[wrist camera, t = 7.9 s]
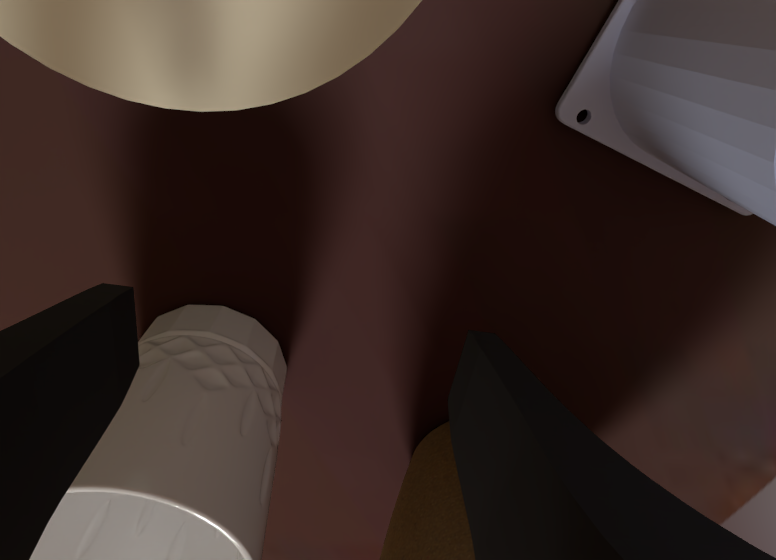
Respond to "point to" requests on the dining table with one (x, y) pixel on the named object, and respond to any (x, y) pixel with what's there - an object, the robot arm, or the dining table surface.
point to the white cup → (182, 449)
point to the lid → (201, 45)
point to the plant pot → (430, 507)
